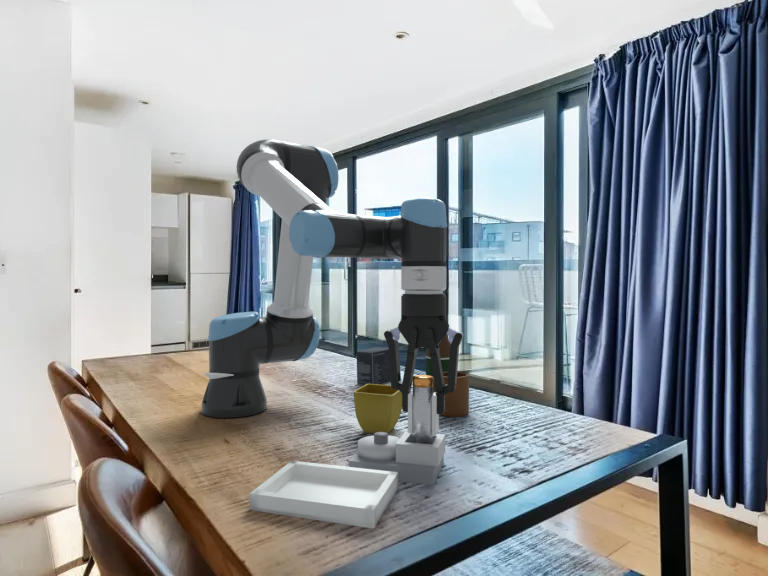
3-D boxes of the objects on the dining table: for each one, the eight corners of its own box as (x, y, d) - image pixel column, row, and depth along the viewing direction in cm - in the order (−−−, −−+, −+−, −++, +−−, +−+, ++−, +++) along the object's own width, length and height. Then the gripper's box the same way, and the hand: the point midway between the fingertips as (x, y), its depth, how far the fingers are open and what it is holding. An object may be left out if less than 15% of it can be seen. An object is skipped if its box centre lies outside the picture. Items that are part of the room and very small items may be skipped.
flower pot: (405, 427, 109) (405, 386, 109) (392, 439, 101) (392, 395, 100) (367, 423, 112) (367, 383, 111) (352, 435, 103) (352, 391, 103)
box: (376, 379, 161) (376, 346, 160) (393, 381, 157) (393, 348, 157) (355, 385, 152) (355, 350, 152) (373, 387, 148) (373, 352, 148)
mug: (434, 422, 112) (434, 380, 112) (415, 414, 119) (415, 375, 119) (475, 415, 119) (475, 375, 118) (455, 407, 125) (455, 370, 125)
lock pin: (410, 459, 83) (410, 378, 82) (415, 452, 86) (415, 374, 85) (430, 461, 82) (430, 379, 81) (434, 454, 85) (434, 375, 85)
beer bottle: (423, 392, 141) (423, 307, 141) (450, 392, 142) (450, 307, 142) (428, 399, 134) (428, 309, 133) (456, 398, 134) (457, 309, 134)
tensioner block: (348, 475, 82) (348, 441, 82) (367, 455, 92) (367, 424, 92) (436, 485, 78) (436, 449, 78) (446, 463, 88) (446, 430, 88)
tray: (249, 511, 70) (249, 493, 70) (291, 475, 82) (291, 460, 82) (373, 529, 65) (373, 509, 65) (398, 488, 77) (398, 472, 77)
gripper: (370, 292, 82) (370, 434, 83) (471, 293, 78) (470, 443, 78) (382, 291, 89) (382, 422, 90) (475, 292, 85) (474, 429, 86)
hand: (423, 431), depth 84 cm, fingers closed on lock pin, 3 cm apart
